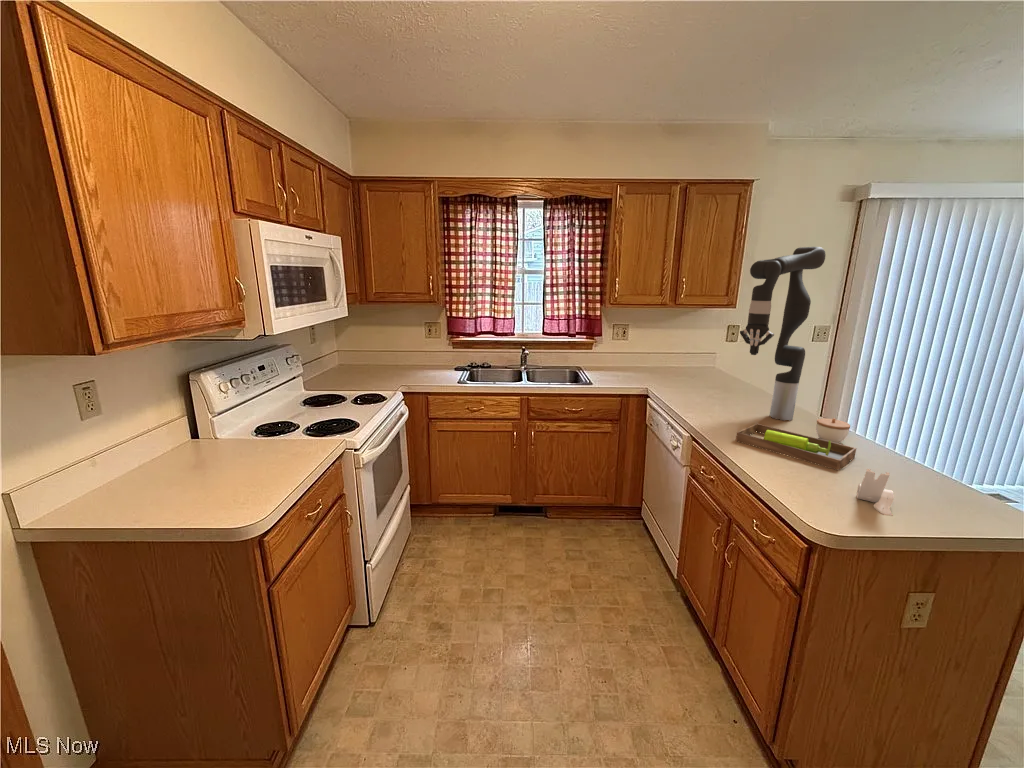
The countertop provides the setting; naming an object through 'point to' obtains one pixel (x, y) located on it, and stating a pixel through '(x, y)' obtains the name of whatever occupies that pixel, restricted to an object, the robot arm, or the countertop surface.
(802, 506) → the countertop surface
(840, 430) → the lidded jar
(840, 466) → the wooden tray
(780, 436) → the soap dispenser
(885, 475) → the plastic part
